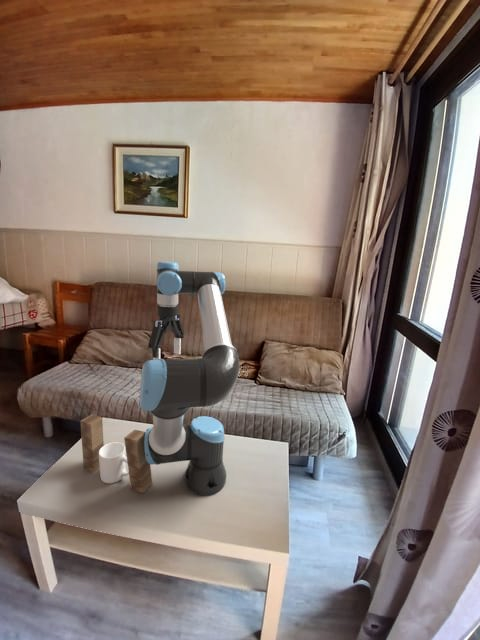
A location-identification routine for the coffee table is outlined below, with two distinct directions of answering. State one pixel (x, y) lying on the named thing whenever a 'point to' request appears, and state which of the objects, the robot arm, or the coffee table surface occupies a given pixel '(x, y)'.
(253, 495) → the coffee table surface
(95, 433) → the post far
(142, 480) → the post near
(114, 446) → the mug
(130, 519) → the coffee table surface
